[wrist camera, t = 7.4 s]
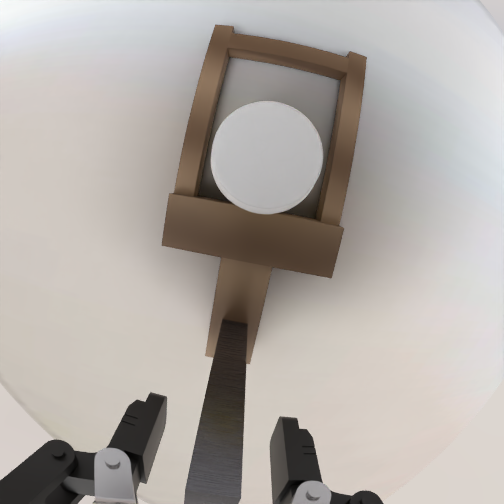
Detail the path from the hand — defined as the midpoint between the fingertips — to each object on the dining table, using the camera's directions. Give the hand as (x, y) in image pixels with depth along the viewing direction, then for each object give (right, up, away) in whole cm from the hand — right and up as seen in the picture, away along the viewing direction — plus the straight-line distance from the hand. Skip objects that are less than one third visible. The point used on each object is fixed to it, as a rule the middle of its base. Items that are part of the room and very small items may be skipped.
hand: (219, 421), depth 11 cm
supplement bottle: (+2, +13, +7) cm, 15 cm away
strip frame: (+2, +10, +7) cm, 13 cm away
